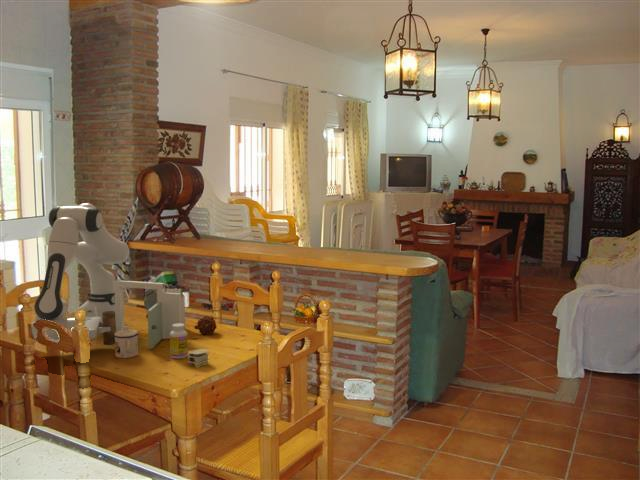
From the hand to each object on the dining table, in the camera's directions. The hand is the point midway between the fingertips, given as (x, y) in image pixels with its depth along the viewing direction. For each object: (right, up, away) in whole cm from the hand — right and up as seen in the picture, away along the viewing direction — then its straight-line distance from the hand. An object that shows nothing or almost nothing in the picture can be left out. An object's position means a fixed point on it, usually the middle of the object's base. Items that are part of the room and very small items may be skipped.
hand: (111, 326), depth 252 cm
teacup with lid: (+9, -11, -8) cm, 16 cm away
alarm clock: (+5, -3, +53) cm, 53 cm away
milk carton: (+19, -6, +30) cm, 36 cm away
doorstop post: (-1, -7, +1) cm, 7 cm away
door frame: (+10, -7, +20) cm, 23 cm away
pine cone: (+34, -7, +25) cm, 42 cm away
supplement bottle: (+29, -11, -8) cm, 32 cm away
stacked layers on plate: (+39, -13, -18) cm, 44 cm away
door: (+17, -8, +8) cm, 20 cm away
